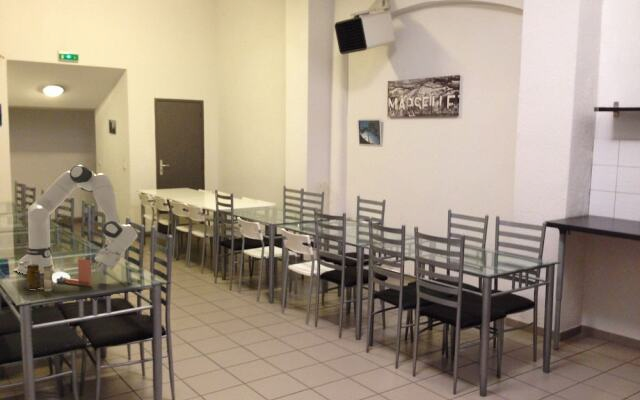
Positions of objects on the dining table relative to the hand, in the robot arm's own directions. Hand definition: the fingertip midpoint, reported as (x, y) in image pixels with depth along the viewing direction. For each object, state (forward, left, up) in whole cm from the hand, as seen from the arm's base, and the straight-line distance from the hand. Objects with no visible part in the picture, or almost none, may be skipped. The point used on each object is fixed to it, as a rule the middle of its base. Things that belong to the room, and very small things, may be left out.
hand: (96, 271), depth 305 cm
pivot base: (-19, -6, -7) cm, 21 cm away
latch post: (-12, -21, -7) cm, 25 cm away
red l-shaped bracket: (-8, -6, -7) cm, 11 cm away
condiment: (-22, -21, -7) cm, 31 cm away
